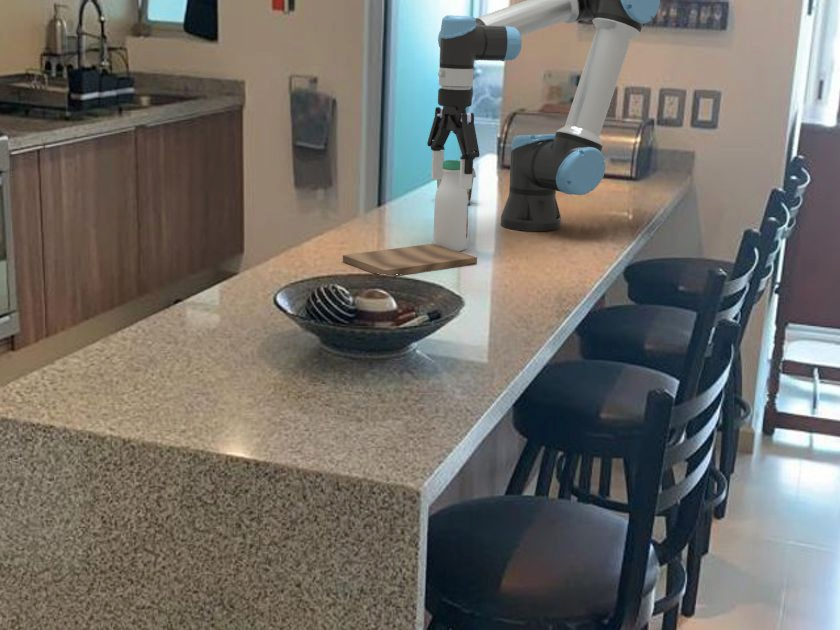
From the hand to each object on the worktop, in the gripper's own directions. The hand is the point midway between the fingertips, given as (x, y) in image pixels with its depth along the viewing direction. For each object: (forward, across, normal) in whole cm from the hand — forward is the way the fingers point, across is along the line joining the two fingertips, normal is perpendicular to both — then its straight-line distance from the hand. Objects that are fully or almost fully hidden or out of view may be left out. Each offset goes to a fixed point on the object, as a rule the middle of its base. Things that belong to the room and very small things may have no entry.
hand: (450, 184), depth 261 cm
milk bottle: (+15, 0, +1) cm, 15 cm away
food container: (+15, -52, +31) cm, 62 cm away
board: (+15, +10, -14) cm, 23 cm away
